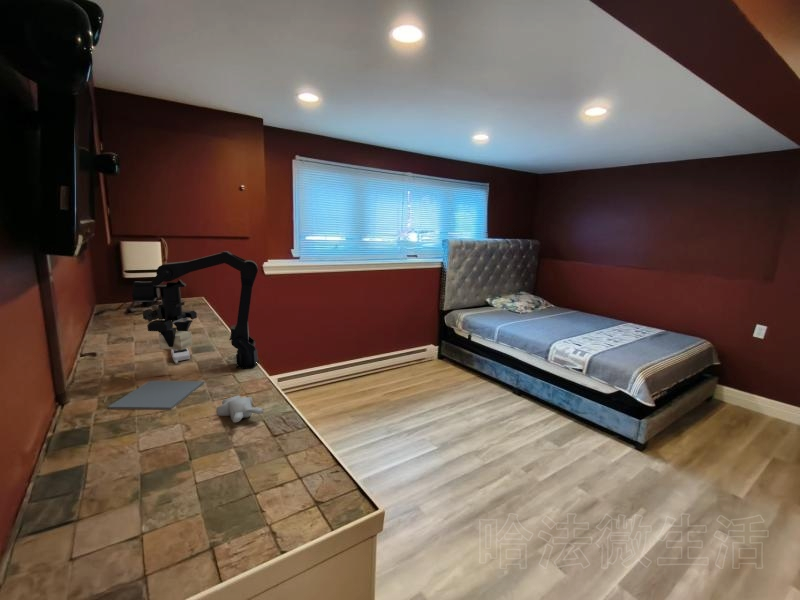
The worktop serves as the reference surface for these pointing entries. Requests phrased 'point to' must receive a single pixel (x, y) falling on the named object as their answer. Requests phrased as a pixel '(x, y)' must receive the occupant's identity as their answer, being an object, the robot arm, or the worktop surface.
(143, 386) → the rubber mat
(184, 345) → the card box
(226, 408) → the bunny figurine
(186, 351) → the mobile phone
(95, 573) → the worktop surface
